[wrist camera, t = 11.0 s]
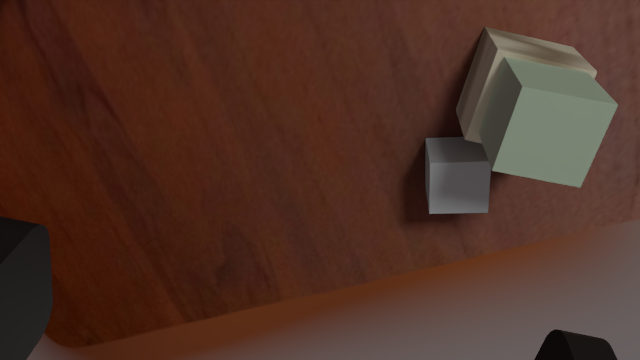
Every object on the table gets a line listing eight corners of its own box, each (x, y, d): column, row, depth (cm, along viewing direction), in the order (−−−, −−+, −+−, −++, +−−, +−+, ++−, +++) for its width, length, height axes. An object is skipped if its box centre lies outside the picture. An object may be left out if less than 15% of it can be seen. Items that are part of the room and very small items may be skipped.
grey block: (425, 185, 45) (429, 214, 41) (425, 137, 43) (429, 163, 39) (479, 183, 44) (487, 212, 41) (481, 135, 42) (491, 161, 39)
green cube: (504, 56, 34) (522, 86, 30) (587, 72, 35) (617, 104, 30) (478, 132, 37) (491, 170, 33) (556, 147, 37) (580, 187, 33)
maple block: (455, 109, 42) (464, 139, 37) (484, 26, 39) (497, 49, 34) (537, 127, 42) (556, 160, 37) (572, 46, 39) (597, 71, 34)
